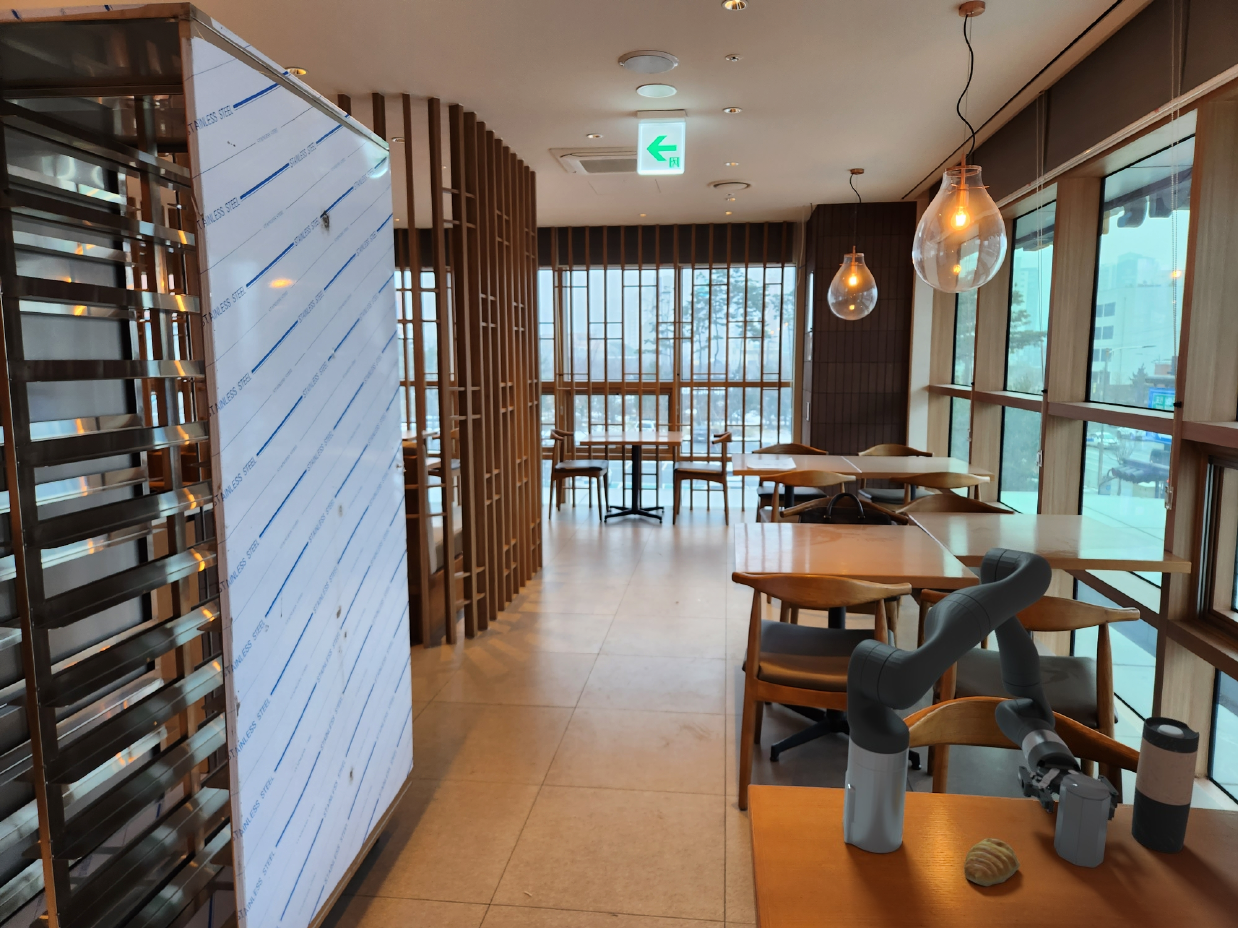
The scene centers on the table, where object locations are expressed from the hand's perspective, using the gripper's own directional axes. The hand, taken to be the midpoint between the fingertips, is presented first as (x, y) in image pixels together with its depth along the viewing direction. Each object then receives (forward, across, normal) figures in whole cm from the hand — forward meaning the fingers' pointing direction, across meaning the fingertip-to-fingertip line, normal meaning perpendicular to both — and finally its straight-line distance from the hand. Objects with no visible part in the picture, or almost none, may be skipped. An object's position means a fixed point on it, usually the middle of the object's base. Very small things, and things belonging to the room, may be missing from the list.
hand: (1080, 811), depth 128 cm
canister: (+1, 0, +7) cm, 7 cm away
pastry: (+8, -15, +8) cm, 18 cm away
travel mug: (-6, +14, +7) cm, 17 cm away
